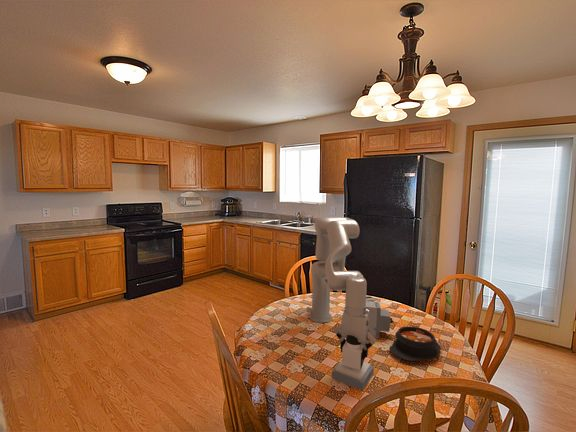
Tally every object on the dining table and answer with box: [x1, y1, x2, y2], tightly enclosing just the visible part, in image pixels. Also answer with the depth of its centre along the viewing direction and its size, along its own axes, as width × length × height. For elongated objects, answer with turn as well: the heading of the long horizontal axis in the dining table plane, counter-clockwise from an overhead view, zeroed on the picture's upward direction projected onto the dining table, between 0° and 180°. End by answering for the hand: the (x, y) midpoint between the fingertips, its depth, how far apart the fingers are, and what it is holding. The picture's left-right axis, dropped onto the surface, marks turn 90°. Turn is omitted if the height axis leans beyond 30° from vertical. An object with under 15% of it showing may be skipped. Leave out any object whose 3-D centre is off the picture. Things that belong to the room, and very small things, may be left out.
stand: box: [331, 359, 375, 391], centre depth 114 cm, size 12×12×4 cm
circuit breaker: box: [366, 301, 394, 339], centre depth 147 cm, size 8×14×15 cm, turn 78°
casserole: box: [388, 325, 442, 362], centre depth 132 cm, size 25×19×8 cm
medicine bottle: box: [341, 335, 365, 370], centre depth 114 cm, size 7×7×12 cm
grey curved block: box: [366, 295, 376, 302], centre depth 175 cm, size 17×5×10 cm, turn 122°
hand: (353, 354), depth 114 cm, fingers closed on medicine bottle, 7 cm apart
